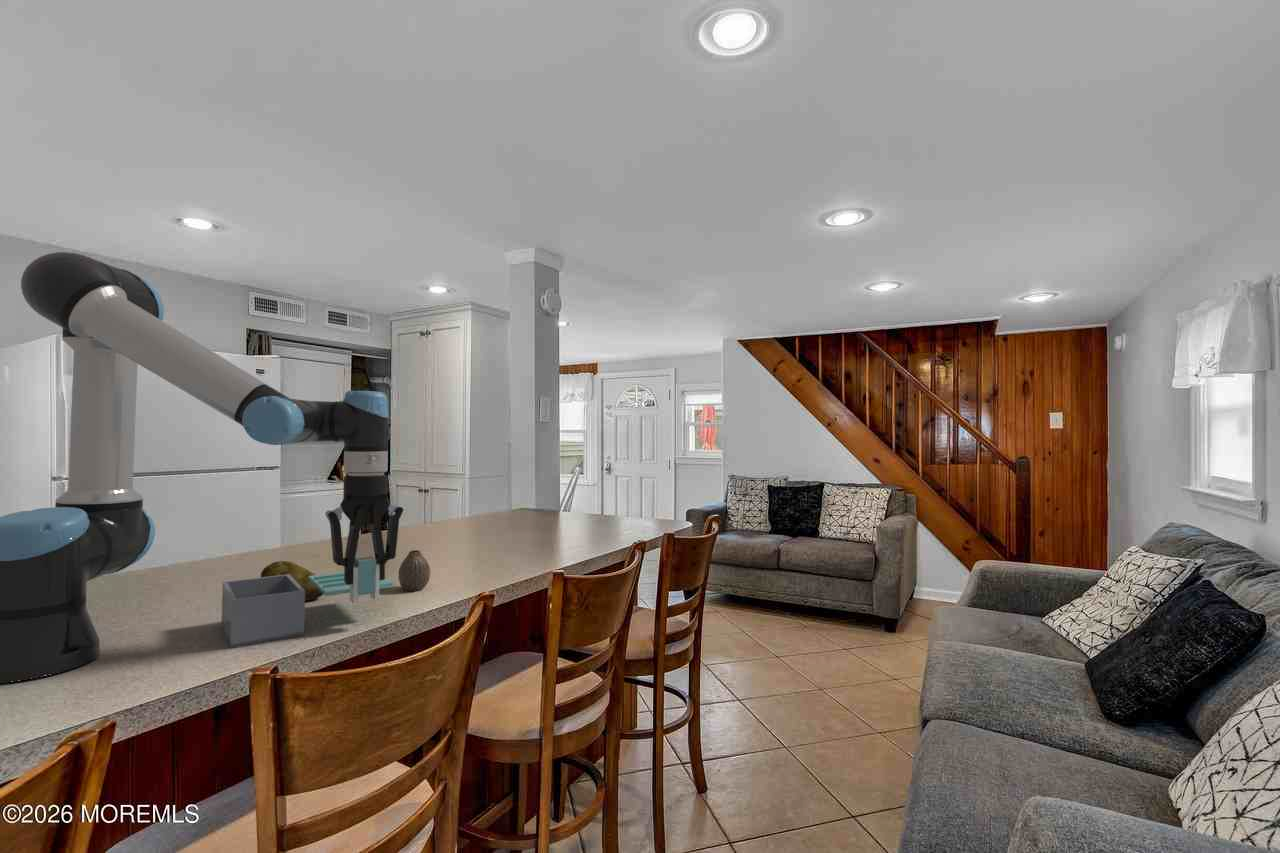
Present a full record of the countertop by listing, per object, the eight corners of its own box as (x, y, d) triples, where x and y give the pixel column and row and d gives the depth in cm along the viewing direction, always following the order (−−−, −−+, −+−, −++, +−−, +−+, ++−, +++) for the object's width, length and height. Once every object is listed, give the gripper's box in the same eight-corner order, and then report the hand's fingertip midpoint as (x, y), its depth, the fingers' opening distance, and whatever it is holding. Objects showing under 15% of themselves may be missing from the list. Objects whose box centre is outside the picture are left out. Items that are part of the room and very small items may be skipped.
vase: (434, 585, 147) (435, 548, 147) (421, 593, 140) (422, 554, 140) (406, 584, 147) (407, 547, 147) (392, 592, 140) (393, 553, 140)
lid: (331, 601, 111) (331, 564, 111) (308, 579, 126) (308, 547, 126) (400, 590, 118) (400, 556, 118) (370, 571, 134) (370, 540, 134)
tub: (230, 648, 104) (231, 600, 104) (221, 624, 116) (222, 582, 116) (304, 635, 111) (305, 590, 111) (288, 614, 123) (289, 574, 123)
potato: (299, 608, 127) (300, 569, 127) (252, 601, 131) (253, 563, 131) (331, 597, 135) (332, 561, 135) (286, 591, 139) (287, 555, 139)
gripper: (323, 477, 108) (321, 612, 108) (416, 473, 118) (414, 597, 118) (313, 474, 114) (312, 602, 114) (403, 471, 124) (401, 588, 124)
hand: (364, 599), depth 116 cm, fingers closed on lid, 3 cm apart
